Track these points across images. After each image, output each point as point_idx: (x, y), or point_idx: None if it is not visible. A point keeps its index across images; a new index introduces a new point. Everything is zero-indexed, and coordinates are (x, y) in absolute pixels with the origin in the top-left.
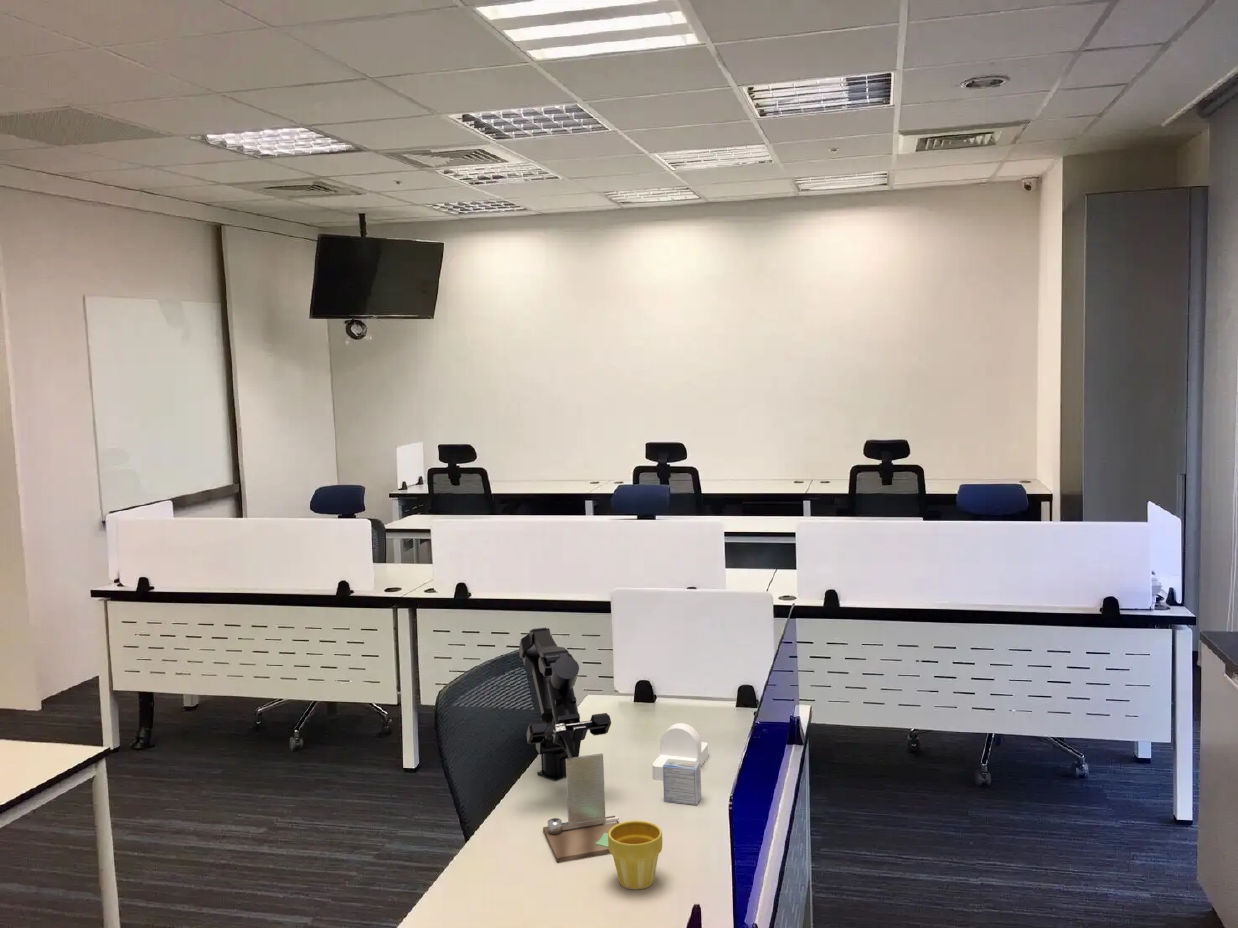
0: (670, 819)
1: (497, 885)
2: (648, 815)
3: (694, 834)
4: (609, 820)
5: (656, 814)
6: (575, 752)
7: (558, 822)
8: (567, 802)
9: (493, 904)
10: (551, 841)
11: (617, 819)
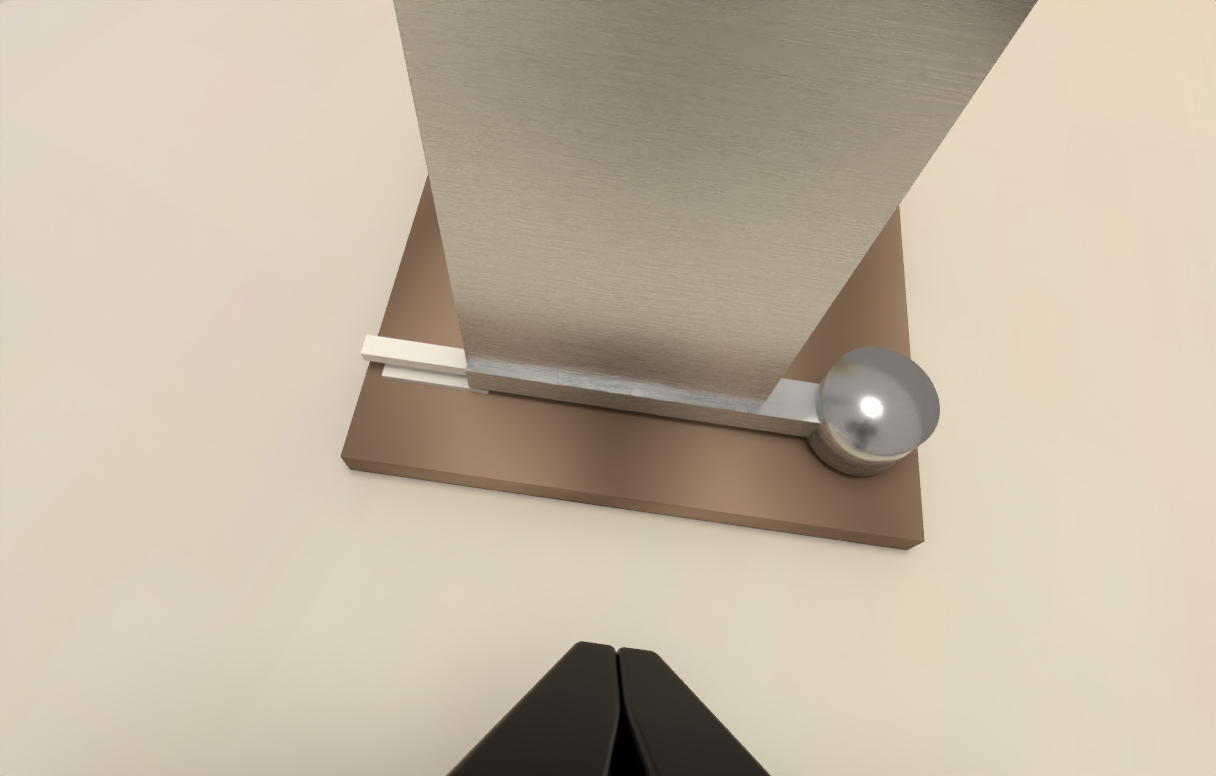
0: (5, 293)
1: (1185, 142)
2: (84, 416)
3: (49, 89)
4: (441, 348)
5: (22, 402)
6: (608, 758)
7: (857, 370)
8: (818, 320)
9: (1189, 42)
10: (896, 324)
11: (378, 340)
